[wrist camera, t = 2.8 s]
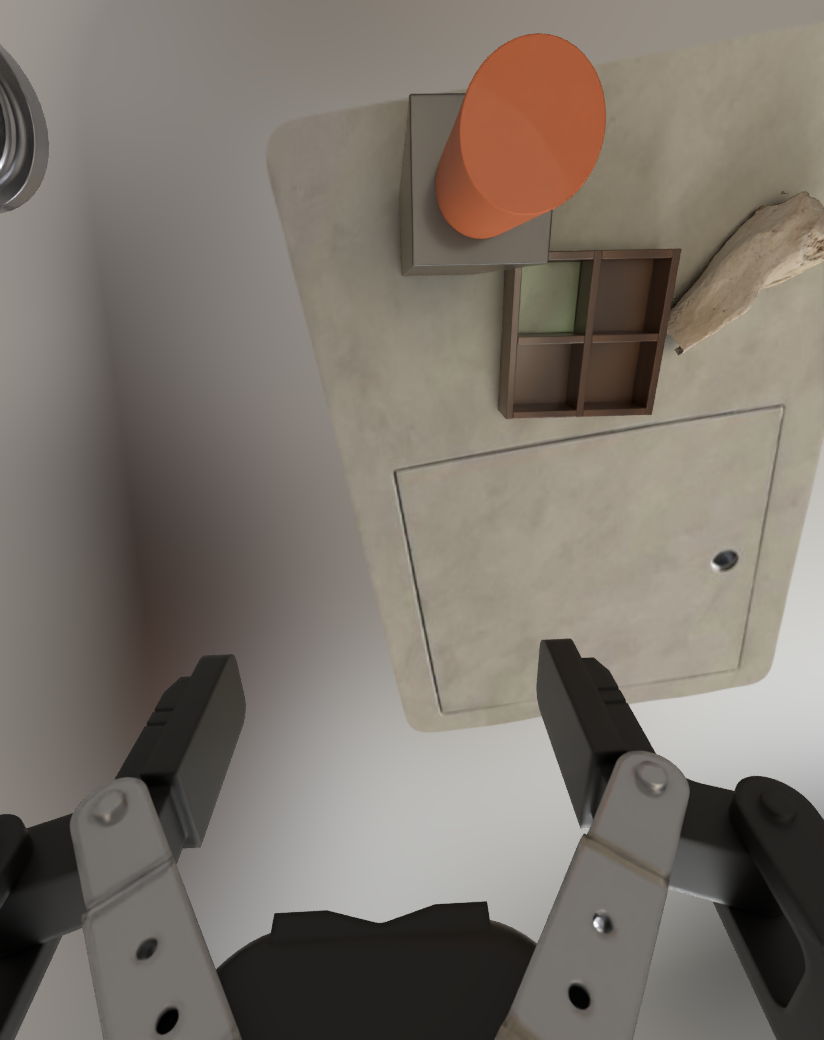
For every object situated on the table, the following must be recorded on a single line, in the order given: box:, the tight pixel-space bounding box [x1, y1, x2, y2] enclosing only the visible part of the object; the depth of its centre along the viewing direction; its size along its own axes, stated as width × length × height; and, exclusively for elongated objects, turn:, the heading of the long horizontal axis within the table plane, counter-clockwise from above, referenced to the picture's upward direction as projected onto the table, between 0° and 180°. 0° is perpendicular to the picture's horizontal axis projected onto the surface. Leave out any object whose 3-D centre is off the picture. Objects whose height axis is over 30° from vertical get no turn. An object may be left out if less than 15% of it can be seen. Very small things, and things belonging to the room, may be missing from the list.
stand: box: [400, 93, 553, 276], centre depth 31 cm, size 6×6×22 cm
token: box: [435, 33, 606, 239], centre depth 17 cm, size 4×4×8 cm
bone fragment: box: [667, 191, 824, 355], centre depth 41 cm, size 14×6×5 cm, turn 130°
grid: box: [498, 249, 681, 419], centre depth 43 cm, size 13×13×4 cm
